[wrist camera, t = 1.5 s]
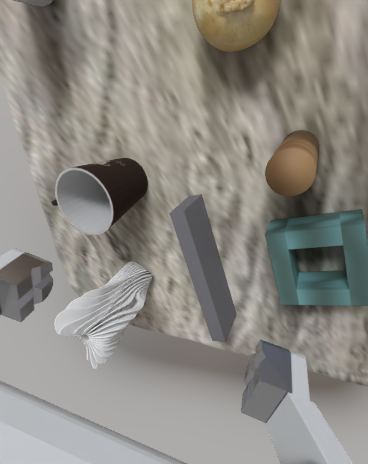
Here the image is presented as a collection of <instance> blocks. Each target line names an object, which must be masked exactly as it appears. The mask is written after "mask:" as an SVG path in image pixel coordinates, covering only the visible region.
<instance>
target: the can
mask: <svg viewBox="0 0 368 464" xmlns="http://www.w3.org/2000/svg"><path fill="white" fill-rule="evenodd" d="M14 1H18V2H22V3H26V4H30V5H35V6H43V7H44V6H46V5H48V4H50V3H51V2H52V1H53V0H14Z"/></svg>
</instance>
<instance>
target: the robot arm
mask: <svg viewBox="0 0 368 464" xmlns="http://www.w3.org/2000/svg"><path fill="white" fill-rule="evenodd" d="M52 270H53V268H52V263H51V262H49V261H47V260H44V259H42V258H40V257H37V256H35V255H32V254H30V253H26V252H24V251H22V250H19V249H11V250H10V251H8V252H6V253H5V254H4V255H2V256H0V315H3V316H6V317H8V318H11V319H14V320H17V321H19V322H22V321H23V320H24V319H25V318H26V317H27V316H28V315H29V314H30V313H31V312H32V311H33V310H34V306H35V304H37V303H40V302H42V301H44V300H45V299H46V298H47V296H48V295H49V293H50V291H51V290H52V286H53V278H52V277H51V275H50V272H51V271H52ZM245 383H246V385H247V387H246V389H245V391H244V393H243V399H242V408H241V412H242V413H244V414H246V415H249V416H251V417H253V418H256V419H258V420H260V421H262V422H265V423H266V427H267V429H268V432H269V434H270V437H271V440H272V442H273V445H274V448H275V450H276V453H277V455H278V458H279V461H280V463H281V464H353V463H352V461H351V459H350V458H349V456H348V455H347V453H346V452H345V450H344V448H343V447H342V445H341V444H340V442H339V440H338V439H337V437H336V436H335V434H334V433H333V431H332V429H331V428H330V426H329V425H328V423H327V421H326V420H325V418H324V417H323V415H322V414H321V412H320V411H319V409H318V407H317V406H316V404H315V403H314V402H311V401H310V394H309V385H308V374H307V364H306V358H305V356H304V355H302V354H299V353H296V352H293V351H291V350H288V349H285V348H282V347H280V346H277V345H274V344H271V343H268V342H266V341H263V340H260V341H259V342H258V344H257V346H256V353H255V354H252V356H251V358H250V360H249V362H248V365H247V369H246V374H245ZM0 464H186V463H184V462H182V461H179V460H177V459H175V458H173V457H171V456H168V455H166V454H164V453H162V452H159V451H157V450H155V449H153V448H150V447H148V446H146V445H144V444H141V443H139V442H137V441H135V440H132V439H130V438H128V437H125V436H123V435H121V434H119V433H117V432H114V431H112V430H110V429H108V428H106V427H103V426H101V425H99V424H96V423H94V422H92V421H90V420H88V419H85V418H83V417H81V416H78V415H76V414H74V413H71V412H69V411H67V410H65V409H63V408H60V407H58V406H56V405H54V404H51V403H49V402H47V401H45V400H42V399H40V398H38V397H36V396H33V395H31V394H29V393H26V392H24V391H22V390H20V389H18V388H15V387H13V386H11V385H8V384H6V383H4V382H2V381H0Z"/></svg>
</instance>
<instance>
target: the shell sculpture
mask: <svg viewBox="0 0 368 464" xmlns="http://www.w3.org/2000/svg"><path fill="white" fill-rule="evenodd" d="M147 271H148V270H146V268H144V267H142V266H141V265H139V264H137V263H136V262H132V261H131V262H128V263H127V264H126V265H125V266H124V267H123V268H122V269H121V270H120V271H119V272H118V273H117V274H116V275H115V276H114V277H113V278H112V279H111V280H110V281H109V282H108V283H107V284H106V285H105V286H103V287H100V288H98V289H95V290H91V291H89V292H87V293H85V294H84V295H83V296H81V297H80V298H77V299H75V300H73V301H72V302H70V304H69V305H68V306H67V307H66V309H65V310H64V311H62V312H60V313H59V314H58V315H57V317H56V319H55V323H54V327H55V330H56V332H57V333H58V334H59V335H62V336H73V335H75V336H76V337H77V336H79V335H80V336H81V335H82V334H83V335H82V336H81V339H80V340H81V341H82V342H83V343H84V344H85V347H87V360H89V359H90V360H91V364H92V366H93V368H94V369H96V368H97V364H98V363H99V364H104V363H105V362H106V361H107V359H108V356H110V355H111V354H112V353H113V352H114V349H115V347H116V346H117V345H118V343H119V341H120V338H121V337H122V335H123V333H124V331H125V329H126V327H127V325H128V323H129V322H130V321H131V319H134V318H135V317H136V315H137V313H138V311H139V310H141V309H142V307H143V306H144V302H145V300H146V294H147V290H148V288H149V285H150V283H151V280H152V277H151V276H152V274H146V273H150V272H147ZM145 272H146V273H145ZM142 273H143V274H144V275H143V274H142ZM141 275H142V276H141ZM139 276H140V277H139ZM138 277H139V278H138ZM135 282H136V283H135ZM125 306H126V307H125ZM124 307H125V309H124ZM120 308H121V310H120V311H119V313H117V312H118V310H119V309H120ZM123 309H124V310H123ZM122 310H123V312H122ZM116 313H117V314H116ZM119 315H121V316H120V318H119V319H118V317H119ZM123 316H124V317H123ZM114 317H115V318H114ZM113 318H114V320H113V321H112V319H113ZM80 336H79V338H80Z"/></svg>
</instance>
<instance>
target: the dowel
mask: <svg viewBox="0 0 368 464" xmlns="http://www.w3.org/2000/svg"><path fill="white" fill-rule="evenodd" d="M318 154H319V142H318V140H317V138H316V137H315V136H314V135H313V134H312V133H310V132H308V131H303V130H300V131H295V132H293V133H291V134H289V135H288V136H287V137H286V138H285V139H284V140H283V142H282V143H281V145H280V146H279V148H278V149H277V150H276V152H275V153H274V155H273V156H272V157H271V159H270V160H269V162H268V164H267V166H266V171H265V176H266V181H267V183H268V185H269V186H270V187H271V189H272V190H274V191H275V192H276V193H278V194H281V195H284V196H295V195H299V194H301V193H303V192H305V191H306V190H307V189H308V188H309V187H310V186H311V185H312V183H313V182H314V179H315V176H316V169H317V161H318Z"/></svg>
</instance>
